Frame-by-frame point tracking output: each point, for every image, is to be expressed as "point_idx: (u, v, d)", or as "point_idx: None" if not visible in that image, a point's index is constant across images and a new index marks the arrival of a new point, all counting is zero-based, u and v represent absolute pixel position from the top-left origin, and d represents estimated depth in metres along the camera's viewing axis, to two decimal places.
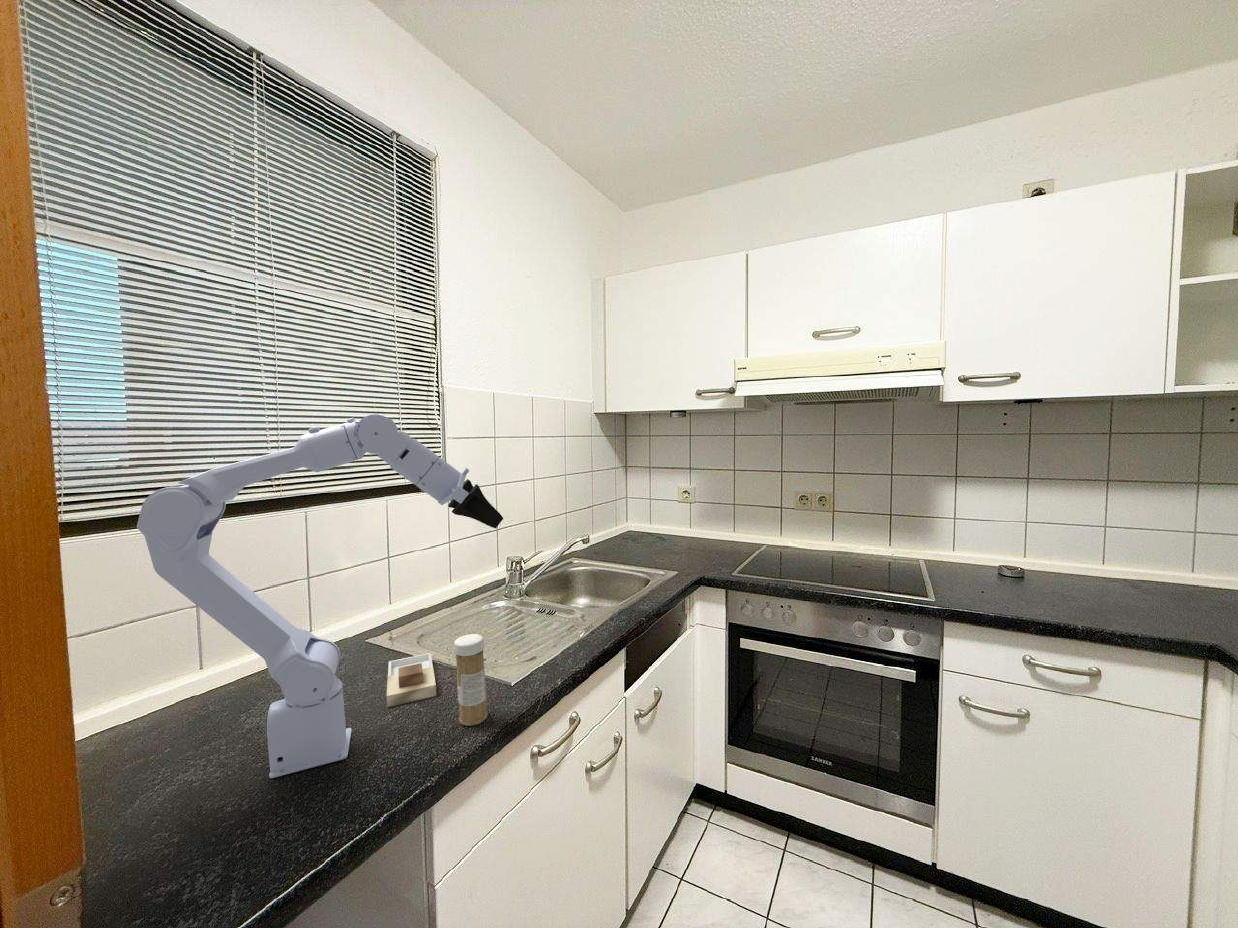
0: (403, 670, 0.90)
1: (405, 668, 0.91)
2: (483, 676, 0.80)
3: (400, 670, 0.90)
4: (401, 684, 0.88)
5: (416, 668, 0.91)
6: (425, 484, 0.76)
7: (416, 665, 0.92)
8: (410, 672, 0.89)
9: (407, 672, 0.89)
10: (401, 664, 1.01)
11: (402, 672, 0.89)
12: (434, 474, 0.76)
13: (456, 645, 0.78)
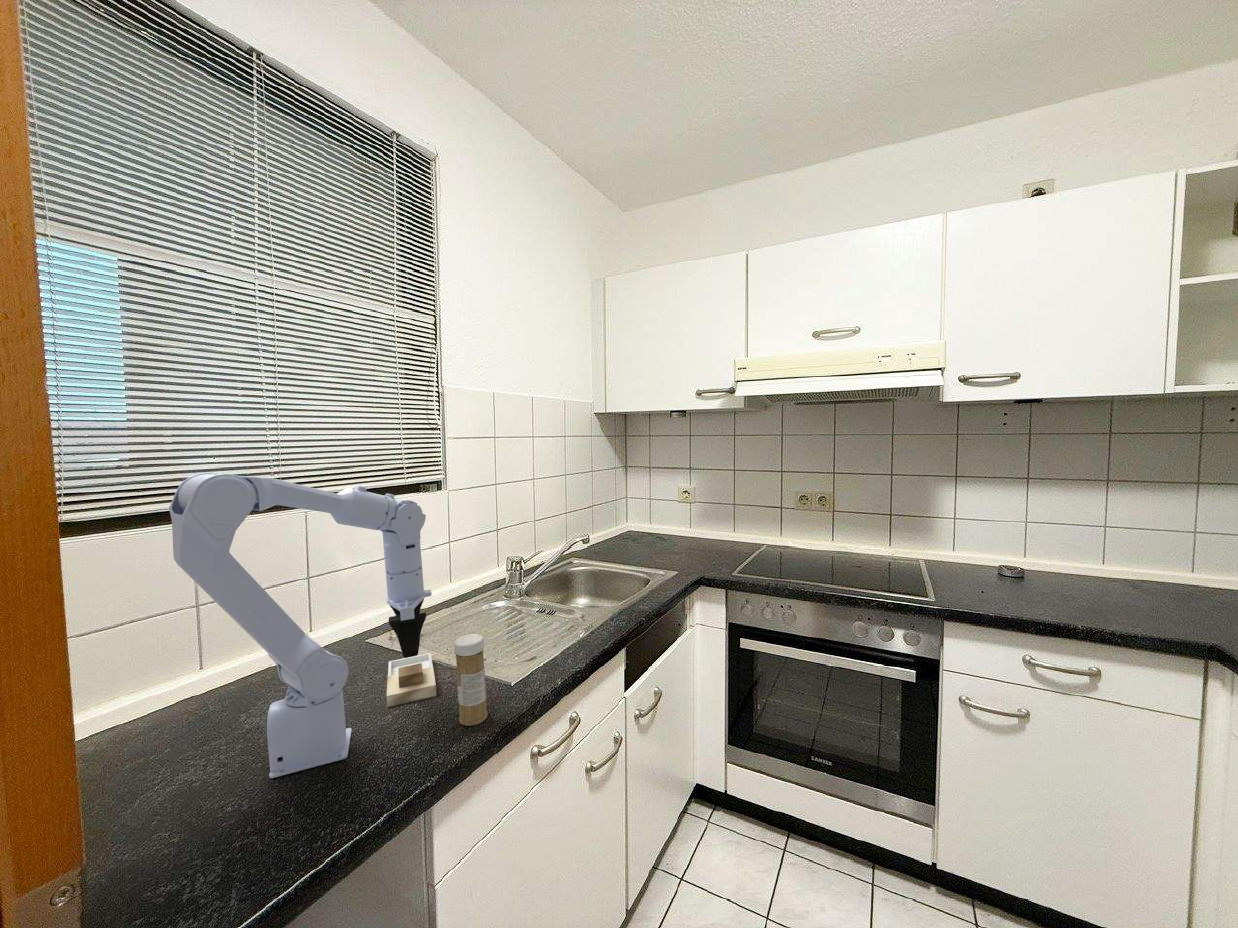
0: (403, 670, 0.90)
1: (405, 668, 0.91)
2: (483, 676, 0.80)
3: (400, 670, 0.90)
4: (401, 684, 0.88)
5: (416, 668, 0.91)
6: (392, 580, 0.81)
7: (416, 665, 0.92)
8: (410, 672, 0.89)
9: (407, 672, 0.89)
10: (401, 664, 1.01)
11: (402, 672, 0.89)
12: (406, 579, 0.81)
13: (456, 645, 0.78)
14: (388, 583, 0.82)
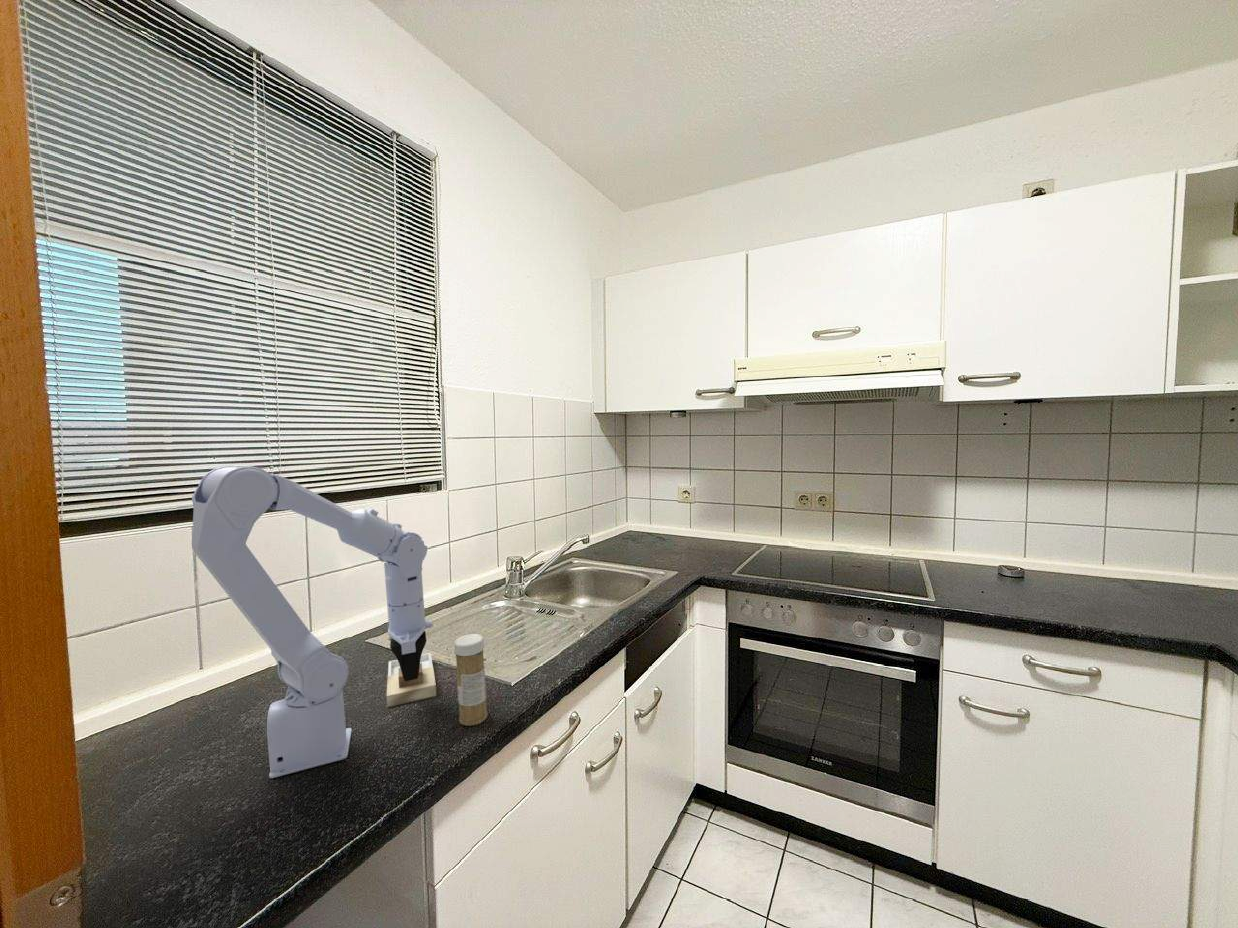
0: None
1: None
2: (483, 676, 0.80)
3: (400, 670, 0.90)
4: (401, 684, 0.88)
5: None
6: (394, 612, 0.81)
7: None
8: None
9: None
10: None
11: None
12: (407, 611, 0.82)
13: (456, 645, 0.78)
14: (389, 615, 0.82)
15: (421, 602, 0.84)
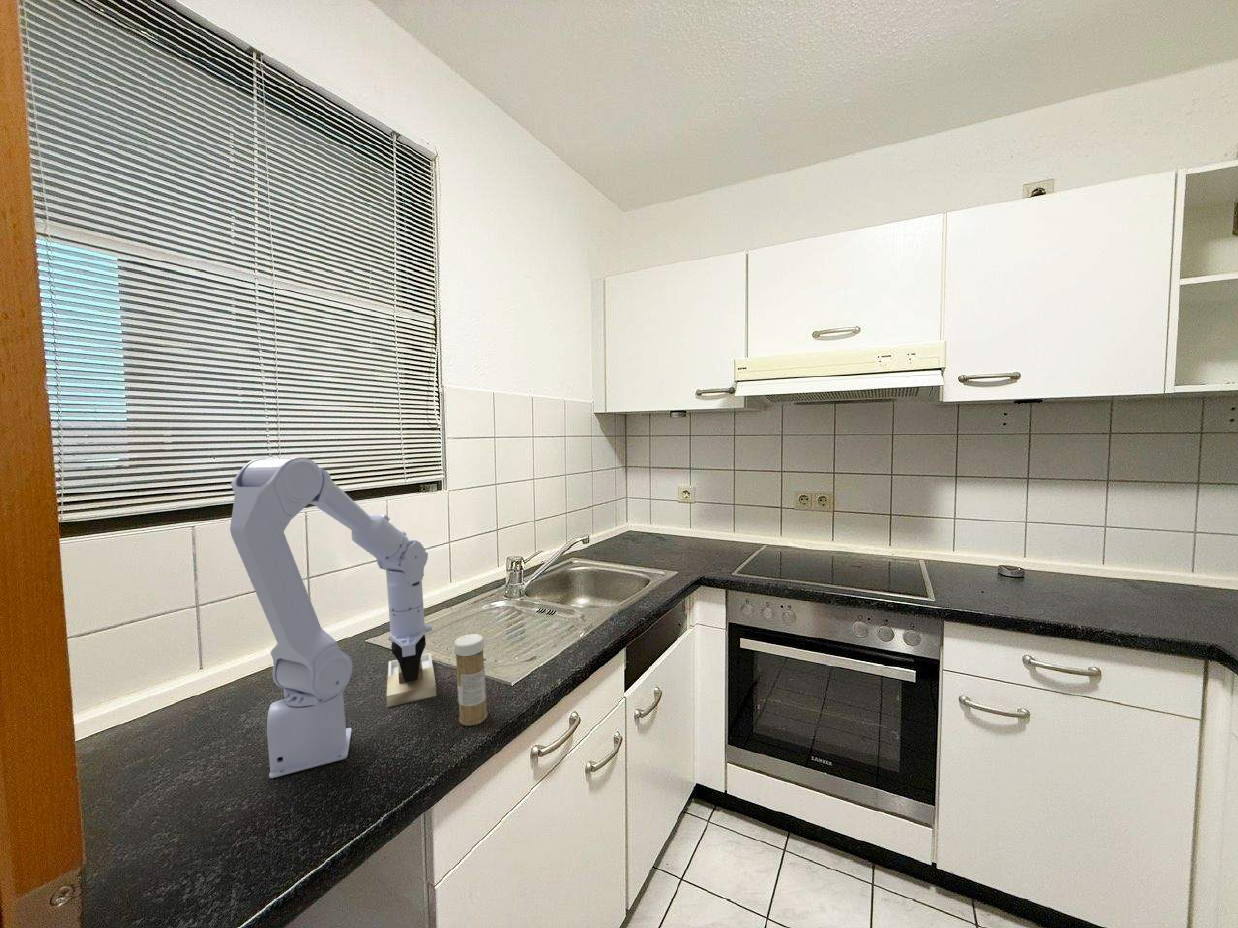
0: None
1: None
2: (483, 676, 0.80)
3: None
4: (401, 680, 0.89)
5: None
6: (395, 617, 0.86)
7: None
8: None
9: None
10: None
11: None
12: (408, 616, 0.86)
13: (456, 645, 0.78)
14: (391, 619, 0.86)
15: (421, 607, 0.88)
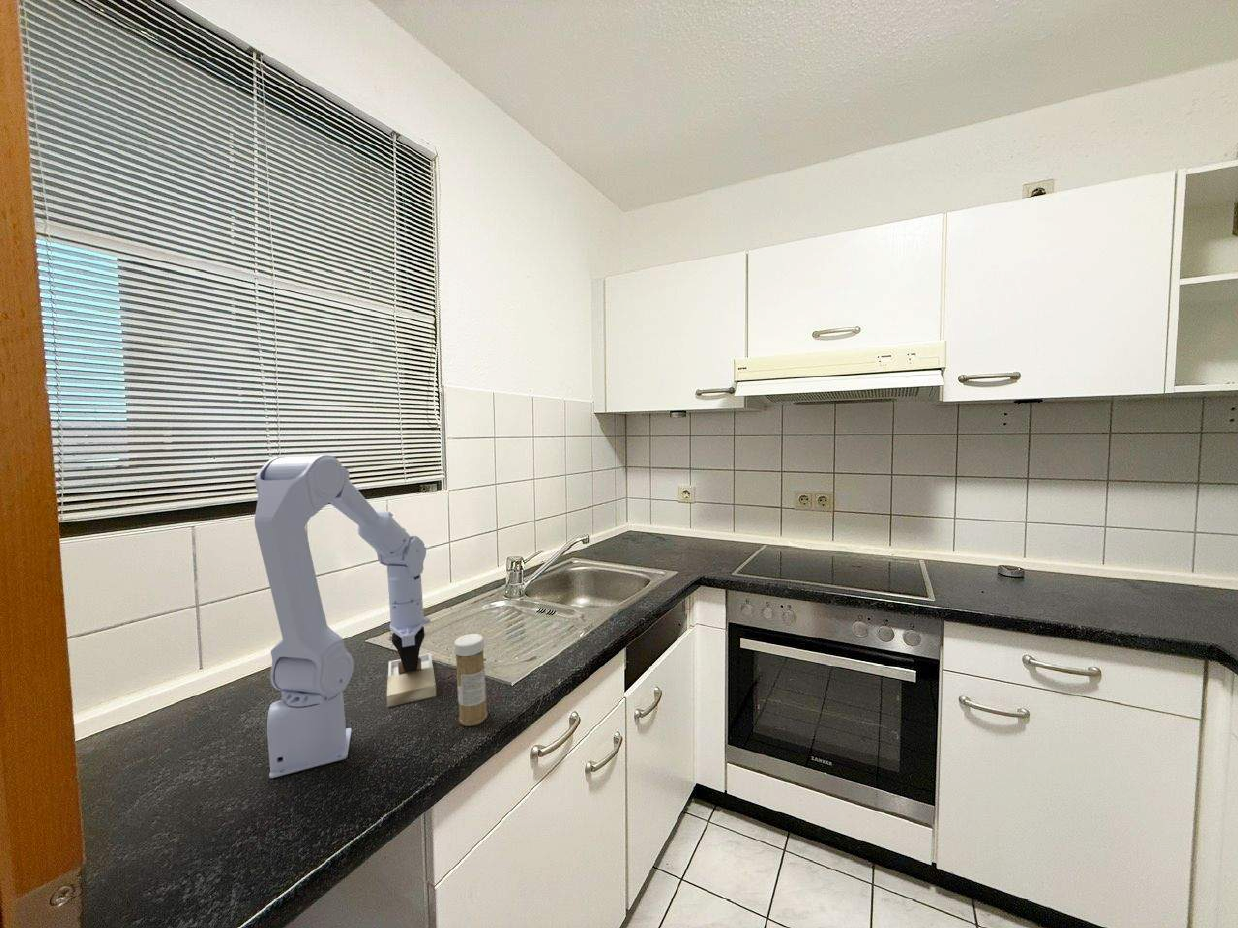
0: None
1: None
2: (483, 676, 0.80)
3: None
4: (400, 669, 0.93)
5: None
6: (395, 609, 0.90)
7: None
8: None
9: None
10: None
11: None
12: (407, 608, 0.90)
13: (456, 645, 0.78)
14: (391, 612, 0.90)
15: (420, 600, 0.92)
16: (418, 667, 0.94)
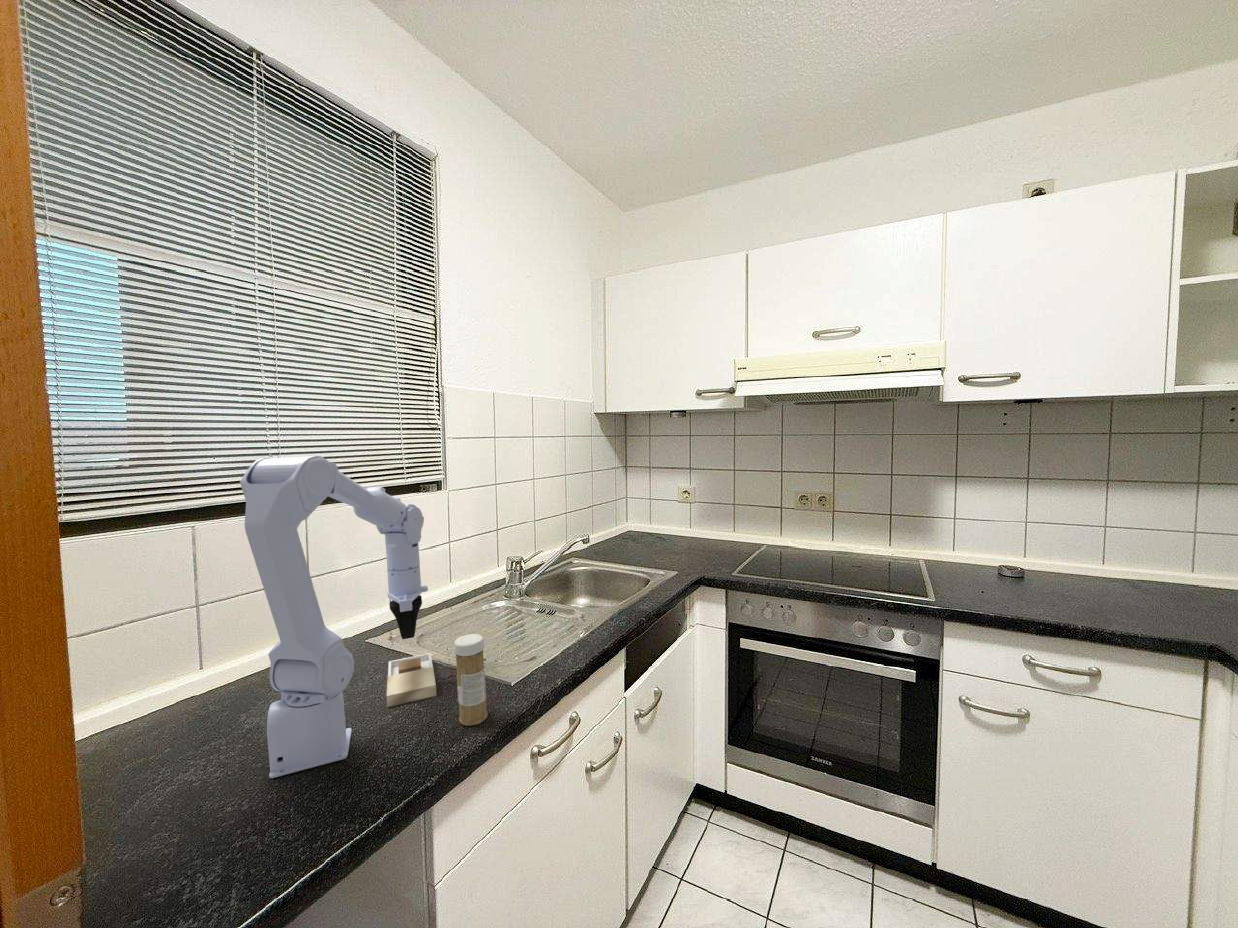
0: (403, 664, 0.97)
1: (405, 662, 0.97)
2: (483, 676, 0.80)
3: (400, 664, 0.97)
4: None
5: (415, 662, 0.97)
6: (393, 576, 0.91)
7: (415, 659, 0.99)
8: (409, 666, 0.96)
9: (407, 666, 0.96)
10: None
11: (402, 666, 0.96)
12: (405, 575, 0.91)
13: (456, 645, 0.78)
14: (389, 579, 0.92)
15: (417, 568, 0.94)
16: None
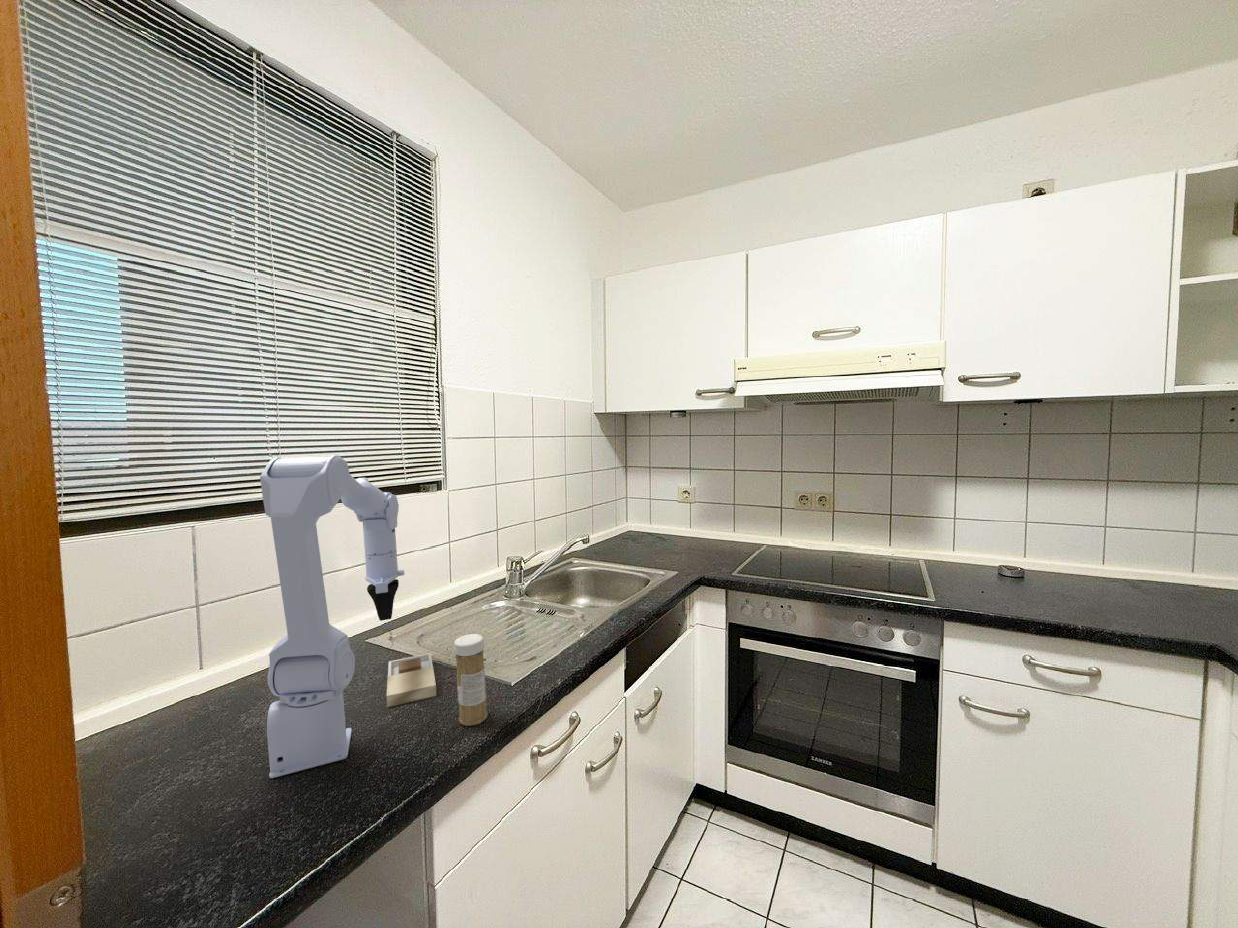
0: (403, 664, 0.97)
1: (405, 662, 0.97)
2: (483, 676, 0.80)
3: (400, 664, 0.97)
4: None
5: (415, 662, 0.97)
6: (370, 560, 0.96)
7: (415, 659, 0.99)
8: (409, 666, 0.96)
9: (407, 666, 0.96)
10: None
11: (402, 666, 0.96)
12: (381, 560, 0.96)
13: (456, 645, 0.78)
14: (367, 563, 0.97)
15: (394, 553, 0.98)
16: None
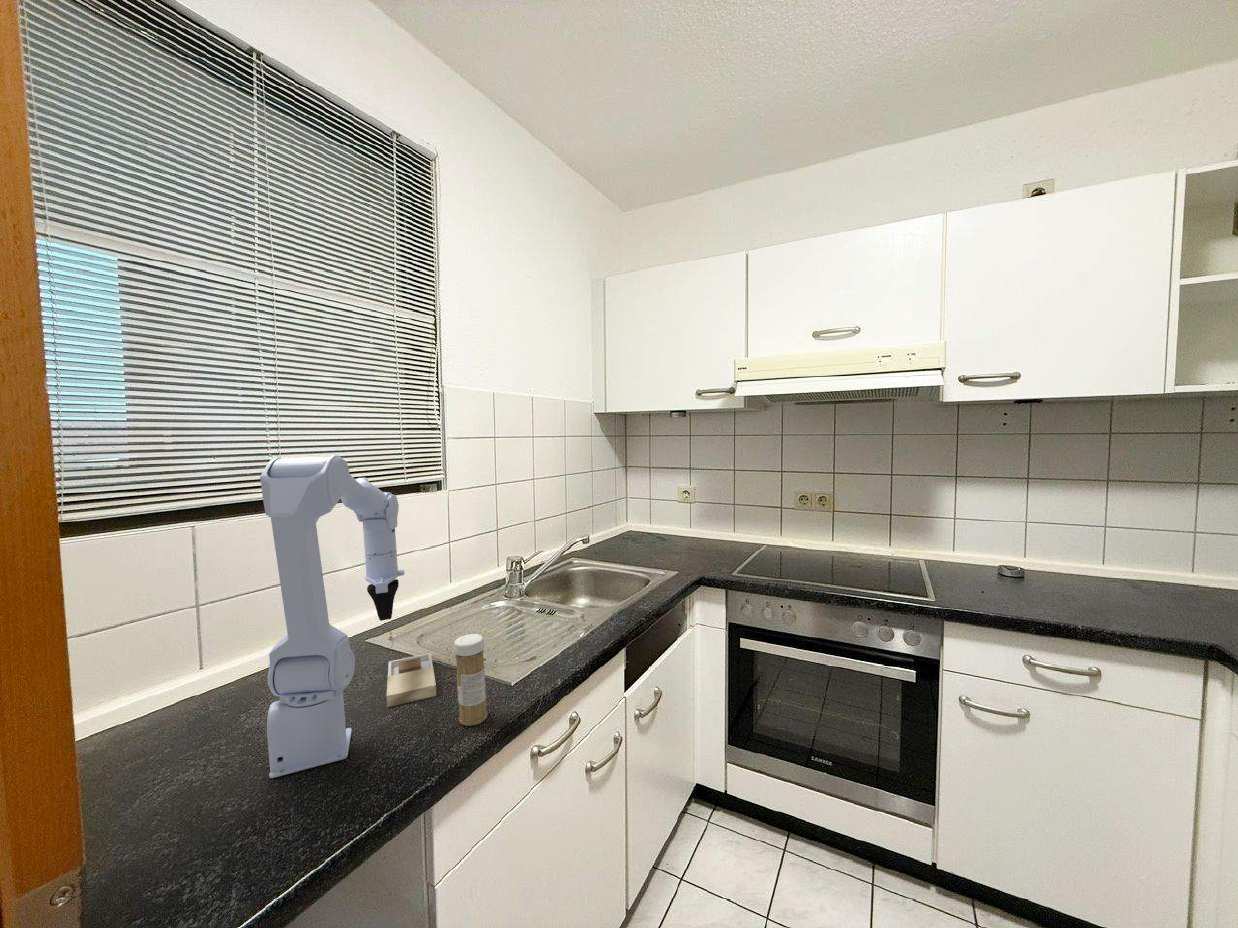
0: (403, 664, 0.97)
1: (405, 662, 0.97)
2: (483, 676, 0.80)
3: (400, 664, 0.97)
4: None
5: (415, 662, 0.97)
6: (370, 560, 0.96)
7: (415, 659, 0.99)
8: (409, 666, 0.96)
9: (407, 666, 0.96)
10: None
11: (402, 666, 0.96)
12: (381, 560, 0.96)
13: (456, 645, 0.78)
14: (367, 563, 0.97)
15: (394, 553, 0.98)
16: None
